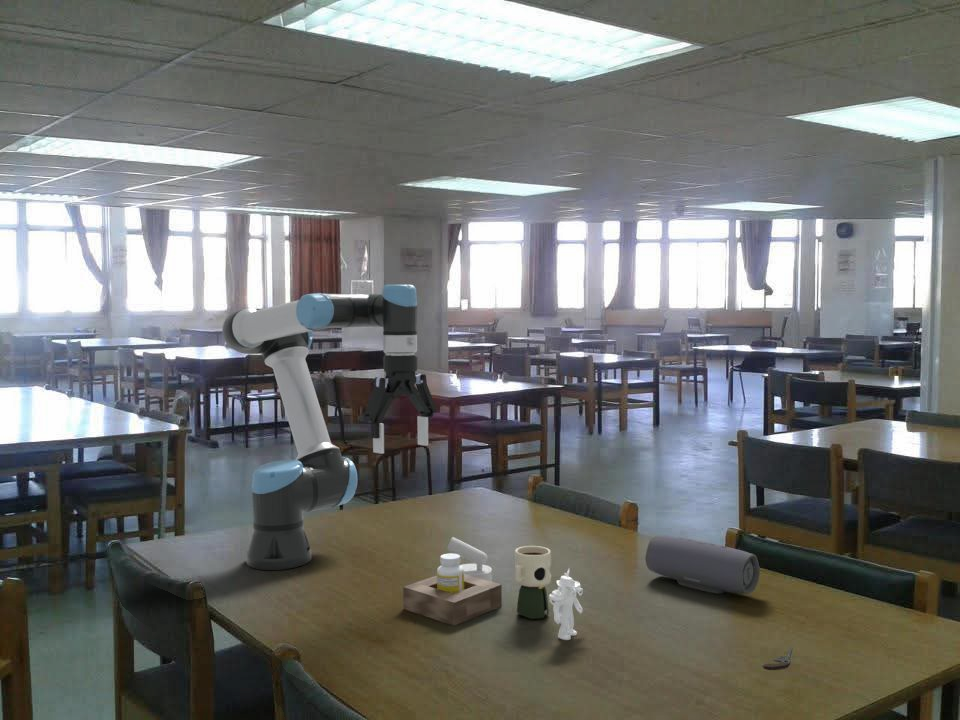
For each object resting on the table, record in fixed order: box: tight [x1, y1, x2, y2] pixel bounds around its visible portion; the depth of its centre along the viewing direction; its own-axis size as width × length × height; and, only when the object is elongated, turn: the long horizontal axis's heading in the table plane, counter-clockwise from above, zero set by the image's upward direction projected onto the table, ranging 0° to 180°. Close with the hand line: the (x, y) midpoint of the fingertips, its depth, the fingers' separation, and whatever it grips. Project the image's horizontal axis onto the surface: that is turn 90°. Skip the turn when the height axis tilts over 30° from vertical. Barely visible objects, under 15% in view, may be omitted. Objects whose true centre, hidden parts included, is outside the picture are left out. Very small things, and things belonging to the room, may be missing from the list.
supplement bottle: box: [436, 552, 464, 594], centre depth 174 cm, size 5×5×10 cm
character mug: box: [514, 545, 552, 619], centre depth 169 cm, size 11×7×13 cm, turn 142°
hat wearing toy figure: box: [548, 567, 584, 641], centre depth 159 cm, size 9×4×12 cm, turn 143°
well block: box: [402, 574, 503, 627], centre depth 174 cm, size 14×14×4 cm
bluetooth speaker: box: [645, 534, 761, 595], centre depth 186 cm, size 23×9×10 cm, turn 47°
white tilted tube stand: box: [446, 536, 493, 582], centre depth 191 cm, size 9×10×10 cm
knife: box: [762, 645, 793, 671], centre depth 151 cm, size 14×4×1 cm, turn 155°
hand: (401, 448), depth 194 cm, fingers open, 13 cm apart
